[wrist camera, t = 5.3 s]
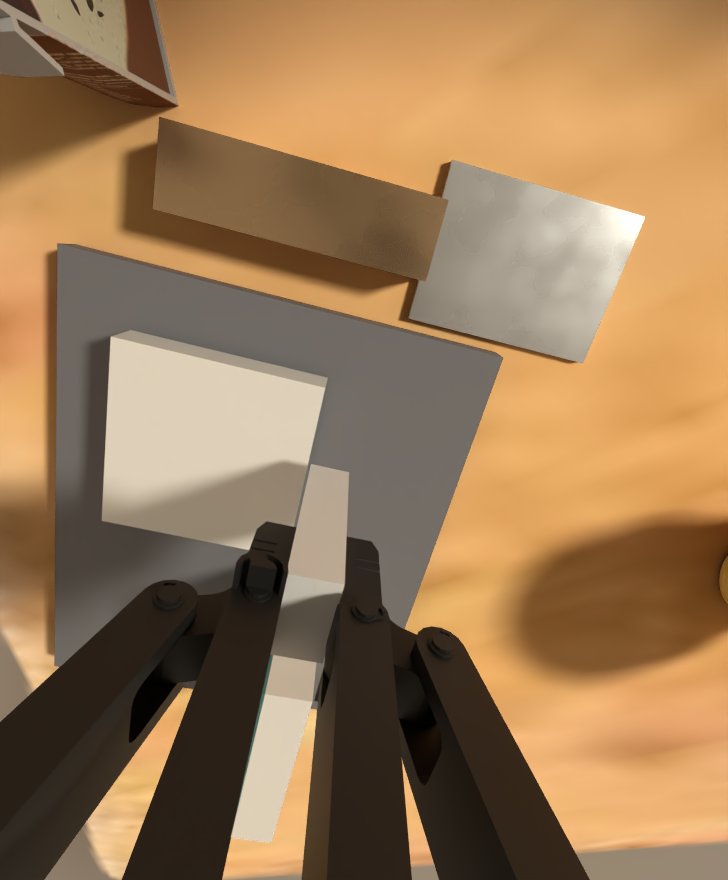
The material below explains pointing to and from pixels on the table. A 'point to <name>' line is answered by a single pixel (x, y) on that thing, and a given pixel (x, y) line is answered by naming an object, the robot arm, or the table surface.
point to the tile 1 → (204, 440)
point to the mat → (335, 445)
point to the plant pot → (724, 580)
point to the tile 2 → (274, 746)
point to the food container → (89, 46)
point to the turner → (418, 234)
